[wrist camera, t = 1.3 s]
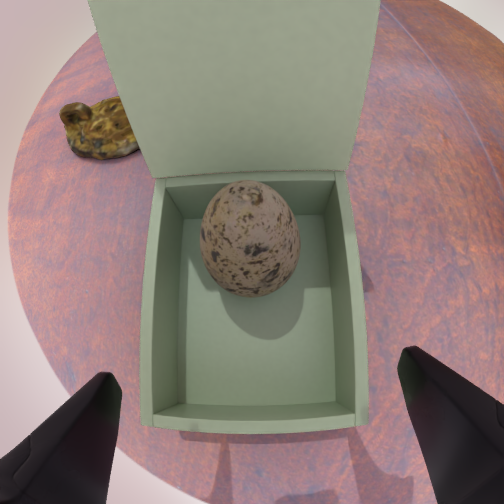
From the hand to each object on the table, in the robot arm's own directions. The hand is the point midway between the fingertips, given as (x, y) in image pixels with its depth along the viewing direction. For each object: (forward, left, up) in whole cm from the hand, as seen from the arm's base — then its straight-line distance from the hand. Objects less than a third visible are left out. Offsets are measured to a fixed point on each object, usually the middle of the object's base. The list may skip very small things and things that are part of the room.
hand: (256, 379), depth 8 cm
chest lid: (+13, -1, +1) cm, 13 cm away
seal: (+25, +13, -13) cm, 31 cm away
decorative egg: (+7, 0, -12) cm, 14 cm away
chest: (+4, 0, -13) cm, 14 cm away
